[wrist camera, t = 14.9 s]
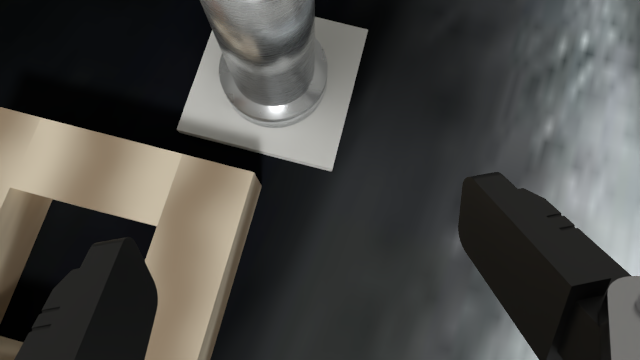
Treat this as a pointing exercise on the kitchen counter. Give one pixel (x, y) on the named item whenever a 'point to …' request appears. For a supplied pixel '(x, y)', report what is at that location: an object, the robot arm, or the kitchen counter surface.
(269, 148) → the grey rubber pad
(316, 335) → the kitchen counter surface
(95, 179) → the frame
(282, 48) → the steel plug
